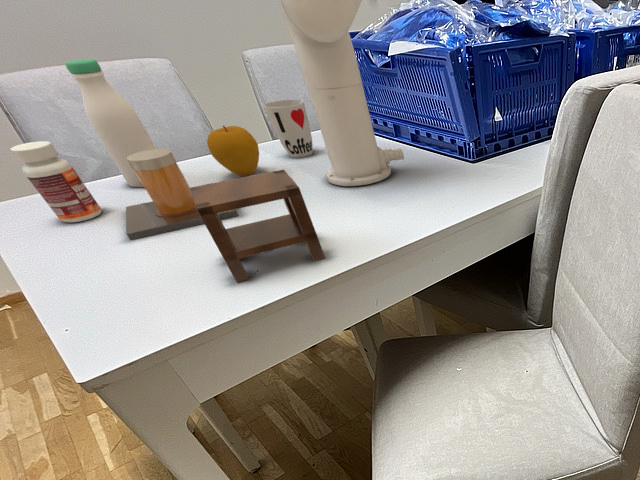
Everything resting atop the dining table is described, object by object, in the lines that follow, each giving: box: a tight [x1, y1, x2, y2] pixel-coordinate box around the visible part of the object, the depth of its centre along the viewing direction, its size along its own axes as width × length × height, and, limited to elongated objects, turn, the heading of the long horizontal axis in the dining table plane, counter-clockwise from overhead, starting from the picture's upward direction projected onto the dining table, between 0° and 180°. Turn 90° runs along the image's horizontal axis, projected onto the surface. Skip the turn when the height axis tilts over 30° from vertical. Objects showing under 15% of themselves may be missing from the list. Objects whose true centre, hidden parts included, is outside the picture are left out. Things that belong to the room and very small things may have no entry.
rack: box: [189, 168, 326, 283], centre depth 62 cm, size 12×9×10 cm
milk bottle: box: [64, 58, 157, 188], centre depth 84 cm, size 8×8×20 cm
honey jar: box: [126, 148, 196, 215], centre depth 75 cm, size 6×6×8 cm
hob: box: [125, 201, 239, 241], centre depth 78 cm, size 16×14×1 cm
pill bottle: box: [10, 140, 103, 223], centre depth 75 cm, size 6×6×11 cm
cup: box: [262, 99, 314, 158], centre depth 100 cm, size 8×8×10 cm
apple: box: [206, 124, 260, 177], centre depth 91 cm, size 9×9×9 cm
